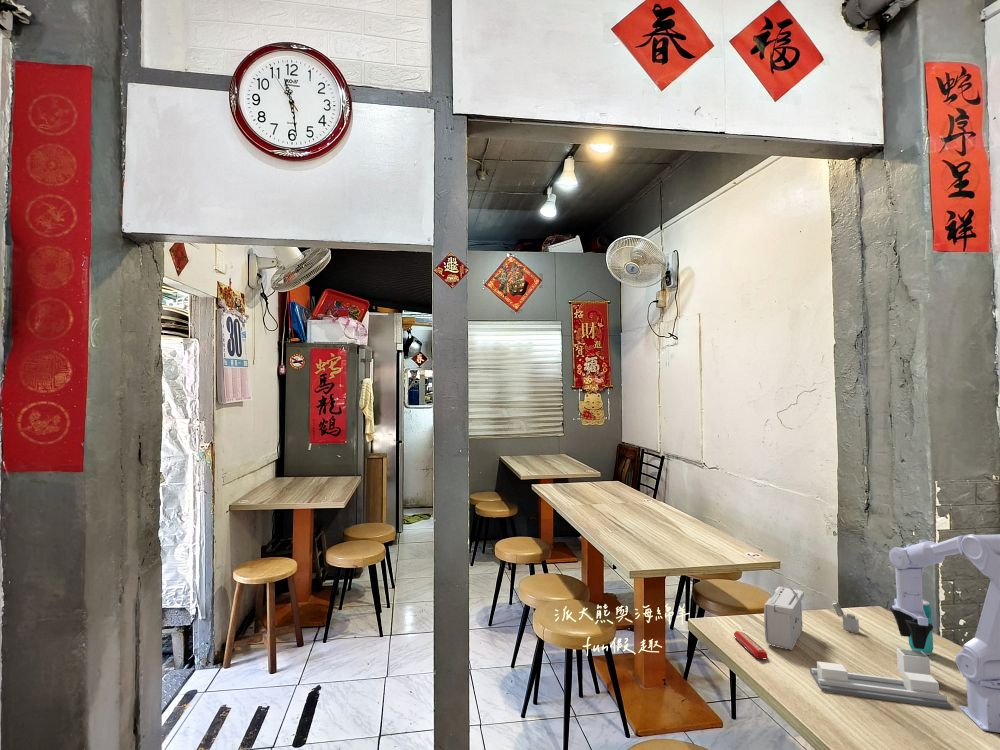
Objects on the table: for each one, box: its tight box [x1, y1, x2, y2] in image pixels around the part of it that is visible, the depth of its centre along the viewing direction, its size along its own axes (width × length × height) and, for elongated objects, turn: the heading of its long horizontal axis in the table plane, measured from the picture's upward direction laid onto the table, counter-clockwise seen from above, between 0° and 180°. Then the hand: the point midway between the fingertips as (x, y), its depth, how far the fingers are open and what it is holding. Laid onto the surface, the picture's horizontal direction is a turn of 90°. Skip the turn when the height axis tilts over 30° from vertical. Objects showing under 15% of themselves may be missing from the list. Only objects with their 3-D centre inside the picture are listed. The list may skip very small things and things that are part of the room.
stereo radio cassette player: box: [763, 583, 805, 651], centre depth 164 cm, size 21×8×20 cm, turn 141°
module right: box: [902, 672, 940, 694], centre depth 131 cm, size 4×6×4 cm, turn 74°
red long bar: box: [733, 630, 769, 660], centre depth 157 cm, size 16×4×3 cm, turn 1°
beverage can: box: [908, 599, 934, 656], centre depth 155 cm, size 6×6×15 cm
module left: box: [816, 661, 848, 682], centre depth 137 cm, size 4×6×4 cm, turn 74°
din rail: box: [809, 667, 952, 710], centre depth 134 cm, size 10×28×2 cm, turn 74°
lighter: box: [831, 601, 860, 634], centre depth 171 cm, size 7×2×8 cm, turn 38°
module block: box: [896, 648, 931, 676], centre depth 141 cm, size 4×6×6 cm, turn 74°
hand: (911, 641), depth 141 cm, fingers open, 7 cm apart
